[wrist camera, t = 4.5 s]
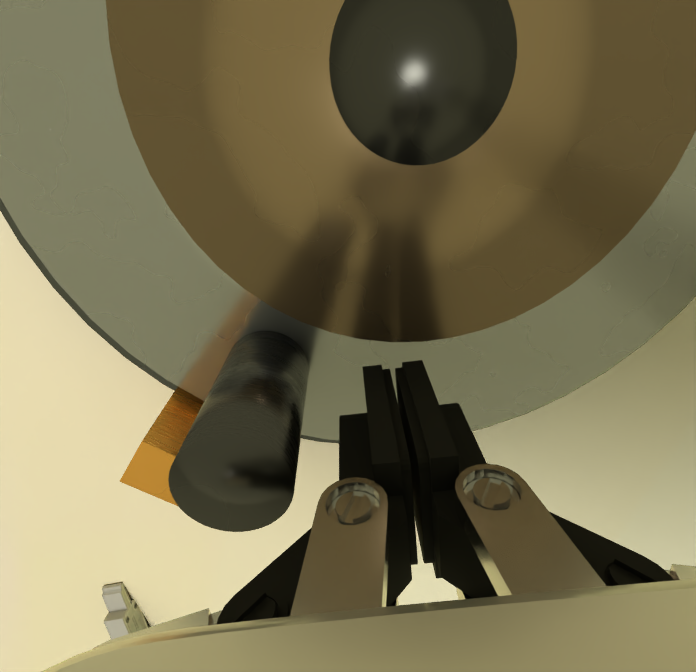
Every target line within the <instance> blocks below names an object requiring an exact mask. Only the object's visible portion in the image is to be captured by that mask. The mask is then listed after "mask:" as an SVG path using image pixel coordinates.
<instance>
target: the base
mask: <svg viewBox="0 0 696 672" xmlns="http://www.w3.org/2000/svg"><path fill="white" fill-rule="evenodd" d="M0 211H1V212H2V214H3V216H4V217H5V219H6V221H7V222H8V224H9V226H10V227H11V229H12V231H13V232H14V234H15V236H16V237H17V239H18V241H19V242H20V244H21V245H22V246H23V248H24V249H25V250H26V252H27V253H28V254H29V256H30V257H31V258H32V260H33V261H34V262H35V264H36V265H37V266H38V268H39V269H40V270H41V272H42V273H43V274H44V276H45V277H46V278H47V280H48V281H49V282H50V284H51V285H52V286H53V288H54V289H55V290H56V291H57V292H58V293H59V294H60V295H61V296H62V297H63V298H64V299H65V301H66V302H67V303H68V304H69V305H70V306H71V307H72V308H73V309H74V310H75V311H76V312H77V314H78V315H79V316H80V317H81V318H82V319H83V320H84V321H85V322H86V323H87V324H88V325H89V326H90V327H91V328H92V329H93V330H94V331H96V332H97V333H98V334H99V335H100V336H101V337H102V338H104V339H105V340H106V341H107V342H108V343H109V344H110V345H112V346H113V347H114V348H115V349H116V350H117V351H118V352H120V353H121V354H122V355H123V356H124V357H125V358H127V359H128V360H130V361H131V362H132V363H134V364H135V365H137V366H138V367H139V368H141V369H142V370H144V371H145V372H147V373H148V374H149V375H151V376H152V377H154V378H155V379H157V380H158V381H159V382H161V383H162V384H164V385H166V386H167V387H169V388H171V389H173V390H175V392H174V393H173V395H172V396H171V398H170V399H169V401H168V402H167V404H166V405H165V407H164V408H163V410H162V412H161V413H160V415H159V416H158V418H157V419H156V421H155V422H154V424H153V425H152V427H151V428H150V430H149V431H148V433H147V434H146V436H145V438H144V439H143V441H142V442H141V444H140V446H139V448H138V449H137V451H136V453H135V455H134V457H133V458H132V460H131V462H130V464H129V465H128V467H127V469H126V471H125V473H124V474H123V476H122V478H121V480H120V482H122V483H125V484H127V485H129V486H132V487H134V488H136V489H139V490H141V491H143V492H146V493H148V494H151V495H153V496H155V497H158V498H160V499H162V500H165V501H167V502H170V503H172V504H174V505H177V504H176V502H175V500H174V499H173V497H172V494H171V492H170V488H169V481H168V478H169V471H170V468H171V465H172V463H173V461H174V459H175V457H176V455H177V454H178V452H179V450H180V448H181V446H182V444H183V442H184V440H185V438H186V436H187V434H188V432H189V430H190V428H191V426H192V424H193V422H194V420H195V419H196V417H197V415H198V413H199V411H200V409H201V407H202V405H203V403H204V401H203V400H201V399H199V398H198V397H196V396H194V395H192V394H191V393H189V392H187V391H185V390H184V389H182V388H180V387H178V386H176V385H175V384H173V383H171V382H169V381H168V380H166V379H165V378H163V377H162V376H160V375H159V374H158V373H156V372H155V371H153V370H152V369H151V368H149V367H148V366H146V365H145V364H144V363H142V362H141V361H139V360H138V359H137V358H135V357H134V356H132V355H131V354H130V353H128V352H127V351H126V350H125V349H124V348H123V347H122V346H120V345H119V344H118V343H117V342H116V341H115V340H114V339H113V338H111V337H110V336H109V335H108V334H107V333H106V332H105V331H104V330H102V329H101V328H100V327H99V326H98V325H97V324H96V323H95V322H93V321H92V320H91V319H90V318H89V317H88V315H87V314H86V313H85V312H84V311H83V310H82V309H81V308H80V307H79V306H78V304H77V303H76V302H75V301H74V300H73V299H72V298H71V297H70V296H69V295H68V294H67V292H66V291H65V290H64V289H63V288H62V287H61V286H60V285H59V284H58V283H57V281H56V280H55V279H54V278H53V276H52V275H51V274H50V272H49V271H48V269H47V268H46V267H45V265H44V264H43V263H42V261H41V260H40V259H39V257H38V256H37V255H36V253H35V252H34V250H33V249H32V248H31V246H30V245H29V244H28V242H27V241H26V240H25V238H24V237H23V236H22V234H21V232H20V231H19V229H18V227H17V226H16V224H15V222H14V220H13V219H12V217H11V215H10V214H9V212H8V210H7V209H6V207H5V205H4V203H3V202H2V200H1V198H0ZM477 430H478V429H477ZM473 431H474V430H473ZM301 438H303V439H308V440H314V441H319V442H330V443H339V440H328V439H321V438H316V437H311V436H306V435H301ZM177 506H178V505H177Z"/></svg>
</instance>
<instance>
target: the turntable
mask: <svg viewBox="0 0 696 672" xmlns="http://www.w3.org/2000/svg"><path fill="white" fill-rule="evenodd" d="M0 198H1V200H2V202H3V203H4V205H5V207H6V209H7V210H8V212H9V214H10V215H11V217H12V219H13V220H14V222H15V224H16V226H17V227H18V229H19V231H20V232H21V234H22V236H23V237H24V238H25V240H26V241H27V242H28V244H29V245H30V246H31V248H32V249H33V250H34V252H35V253H36V255H37V256H38V257H39V259H40V260H41V261H42V263H43V264H44V265H45V267H46V268H47V269H48V271H49V272H50V274H51V275H52V276H53V278H54V279H55V280H56V281H57V283H58V284H59V285H60V286H61V287H62V288H63V289H64V290H65V291H66V292H67V294H68V295H69V296H70V297H71V298H72V299H73V300H74V301H75V302H76V303H77V304H78V306H79V307H80V308H81V309H82V310H83V311H84V312H85V313H86V314H87V315H88V317H89V318H90V319H91V320H92V321H93V322H95V323H96V324H97V325H98V326H99V327H100V328H101V329H102V330H104V331H105V332H106V333H107V334H108V335H109V336H110V337H111V338H113V339H114V340H115V341H116V342H117V343H118V344H119V345H120V346H122V347H123V348H124V349H125V350H126V351H127V352H128V353H130V354H131V355H132V356H134V357H135V358H137V359H138V360H139V361H141V362H142V363H144V364H145V365H146V366H148V367H149V368H151V369H152V370H153V371H155V372H156V373H158V374H159V375H160V376H162V377H163V378H165V379H166V380H168V381H169V382H171V383H173V384H175V385H176V386H178V387H180V388H182V389H184V390H185V391H187V392H189V393H191V394H192V395H194V396H196V397H198V398H199V399H201V400H203V401H204V403H203V405H202V407H201V409H200V411H199V413H198V415H197V417H196V419H195V420H194V422H193V424H192V426H191V428H190V430H189V432H188V434H187V436H186V438H185V440H184V442H183V444H182V446H181V448H180V450H179V452H178V454H177V455H176V457H175V459H174V461H173V463H172V465H171V468H170V471H169V478H168V481H169V488H170V492H171V494H172V497H173V499H174V500H175V502H176V504H177V505H178V506H179V507H180V509H181V510H182V511H183V512H184V513H186V514H187V515H188V516H189V517H191V518H192V519H194V520H195V521H197V522H199V523H201V524H203V525H205V526H208V527H211V528H214V529H218V530H223V531H232V532H243V531H251V530H255V529H259V528H262V527H265V526H267V525H269V524H271V523H273V522H274V521H276V520H277V519H278V518H280V517H281V516H282V515H283V514H284V513H285V512H286V510H287V509H288V507H289V506H290V503H291V501H292V498H293V494H294V486H295V478H296V470H297V462H298V455H299V447H300V439H301V435H306V436H311V437H316V438H321V439H328V440H339V416H340V415H349V414H358V413H367V407H366V398H365V388H364V378H363V368H362V367H363V366H372V365H382V369H390V372H391V376H392V381H393V385H394V389H395V394H396V398H397V388H396V376H395V368H400V367H402V362H408V361H417V360H422V361H423V364H424V366H425V369H426V371H427V374H428V377H429V379H430V382H431V384H432V387H433V390H434V392H435V395H436V398H437V400H438V403H439V405H441V404H451V403H458V404H459V405H460V407H461V409H462V411H463V413H464V415H465V418H466V420H467V422H468V424H469V426H470V429H471V431H473V430H477V429H482V428H486V427H489V426H492V425H495V424H498V423H500V422H503V421H506V420H509V419H512V418H515V417H518V416H521V415H524V414H527V413H529V412H531V411H533V410H535V409H537V408H540V407H542V406H544V405H546V404H548V403H550V402H553V401H555V400H557V399H559V398H561V397H563V396H566V395H567V394H569V393H571V392H572V391H574V390H576V389H578V388H579V387H581V386H583V385H584V384H586V383H588V382H589V381H591V380H593V379H595V378H596V377H598V376H600V375H601V374H603V373H605V372H606V371H608V370H609V369H610V368H612V367H613V366H615V365H616V364H617V363H619V362H620V361H621V360H623V359H624V358H626V357H627V356H628V355H630V354H631V353H632V352H634V351H635V350H637V349H638V348H639V347H641V346H642V345H643V344H645V343H646V342H647V341H648V340H649V339H650V338H651V337H653V336H654V335H655V334H656V333H657V332H658V331H659V330H660V329H662V328H663V327H664V326H665V325H666V324H667V323H668V322H670V321H671V320H672V319H673V318H674V317H675V316H676V315H677V314H679V313H680V312H681V311H682V310H683V309H684V308H685V307H686V306H687V305H688V303H689V302H690V301H691V300H692V299H693V298H694V297H695V296H696V0H0ZM397 403H398V401H397Z"/></svg>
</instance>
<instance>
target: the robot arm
mask: <svg viewBox="0 0 696 672" xmlns="http://www.w3.org/2000/svg"><path fill="white" fill-rule="evenodd" d="M362 368H363V378H364V388H365V398H366V407H367V413H358V414H349V415H340V416H339V481H337V482H335V483H334V484H332V485H331V486H329V487H328V488H327V489H326V490H325V491H324V492H323V493H322V495H321V497H320V499H319V502H318V505H317V509H316V513H315V517H314V521H313V525H312V528H311V529H310V530H309V531H307V532H306V533H305V534H304V535H303V536H302V537H301V538H299V539H298V540H297V541H296V542H295V543H294V544H293V545H291V546H290V547H289V548H288V549H287V550H286V551H285V552H283V553H282V554H281V555H280V556H279V557H278V558H277V559H275V560H274V561H273V562H272V563H271V564H270V565H269V566H267V567H266V568H265V569H264V570H263V571H262V572H261V573H259V574H258V575H257V576H256V577H255V578H254V579H253V580H251V581H250V582H249V583H248V584H247V585H246V586H245V587H243V588H242V589H241V590H240V591H239V592H238V593H237V594H235V595H234V596H233V597H232V599H231V600H230V601H229V602H228V603H227V604H226V605H225V607H224V608H223V610H222V611H219V612H216V613H213V614H211V613H210V610H209V608H208V609H205V610H202V611H199V612H196V613H193V614H189V615H186V616H183V617H180V618H177V619H174V620H171V621H168V622H165V623H161V624H158V625H155V626H152V627H149V628H146V629H143V630H140V631H137V632H133V633H130V634H127V635H124V636H121V637H118V638H115V639H112V640H109V641H107V642H105V643H103V644H101V645H98V646H96V647H95V648H93V649H92V650H90V651H87V652H84V653H81V654H78V655H76V656H74V657H72V658H69V659H67V660H65V661H63V662H61V663H59V664H57V665H55V666H52V667H50V668H48V669H46V670H44V671H42V672H696V567H695V566H686V565H676V564H672V566H671V569H670V570H664V569H662V568H661V567H660V566H659V565H658V564H656V563H654V562H653V561H651V560H649V559H647V558H646V557H644V556H642V555H640V554H638V553H636V552H634V551H632V550H629V549H627V548H625V547H623V546H621V545H619V544H617V543H615V542H612V541H610V540H608V539H606V538H604V537H602V536H600V535H598V534H595V533H593V532H591V531H589V530H587V529H585V528H583V527H581V526H578V525H576V524H574V523H572V522H570V521H568V520H566V519H564V518H561V517H559V516H557V515H555V514H553V513H551V512H549V511H548V510H547V509H546V507H545V506H544V505H543V504H542V502H541V501H540V500H539V498H538V497H537V496H536V495H535V493H534V492H533V491H532V489H531V488H530V487H529V486H528V484H527V483H526V482H525V481H524V480H523V479H522V478H521V477H520V476H519V475H518V474H517V473H515V472H513V471H512V470H510V469H508V468H505V467H502V466H499V465H493V464H487V463H486V461H485V459H484V457H483V455H482V452H481V450H480V448H479V446H478V444H477V442H476V439H475V437H474V435H473V433H472V431H471V429H470V426H469V424H468V422H467V420H466V418H465V415H464V413H463V411H462V409H461V407H460V405H459V404H458V403H451V404H441V405H439V403H438V400H437V398H436V395H435V392H434V390H433V387H432V384H431V382H430V379H429V377H428V374H427V371H426V369H425V366H424V364H423V361H422V360H417V361H408V362H402V367H400V368H395V376H396V388H397V398H396V394H395V389H394V385H393V381H392V376H391V372H390V369H382V365H372V366H363V367H362ZM397 401H398V403H397ZM414 516H415V518H414ZM415 521H416V526H417V531H418V536H419V541H420V546H421V551H422V556H423V561H424V563H433V567H434V571H435V575H436V578H443V579H445V580H446V581H448V582H449V583H451V584H452V585H454V586H455V587H457V595H458V599H459V600H452V601H442V602H431V603H421V604H410V605H400V606H399V605H398V596H399V595H400V594H401V592H402V591H403V590H404V589H405V587H406V586H407V585H408V584H409V583H410V581H411V580H412V573H411V565H414V564H418V560H417V546H416V532H415Z"/></svg>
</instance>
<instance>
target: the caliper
mask: <svg viewBox="0 0 696 672" xmlns="http://www.w3.org/2000/svg"><path fill="white" fill-rule="evenodd" d="M102 590H103V594H102V597H103V599H104V602H105V604H106V607H107V609H108V611H109V613H108V615H107V616H106V618H105V620H104V624H105V626H106V628H107V631H108V633H109V635H110V638H111V640H112V639H115V638H118V637H121V636H124V635H127V634H130V633H133V632H137V631H140V630H143V629H146V628H149V625H148V622H147V620H146V618H145V616H144V615H143V613H142V612H141V610H140V609H139V607H138V605H137V604H136V602H135V601H134V599H131V600H130V598H129V595H128V592H127V590H126V587H125V586H124V584H123V583H117V584H111V585H106V586H103V588H102Z"/></svg>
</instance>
